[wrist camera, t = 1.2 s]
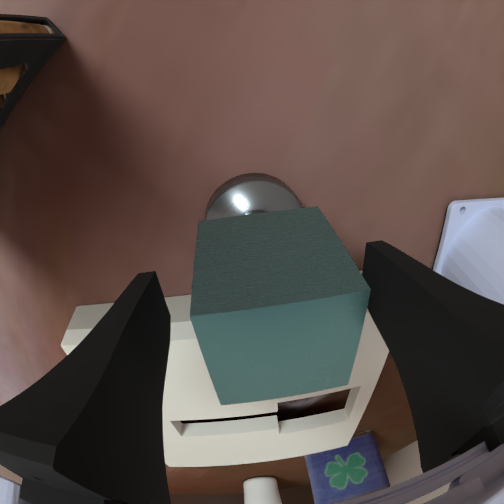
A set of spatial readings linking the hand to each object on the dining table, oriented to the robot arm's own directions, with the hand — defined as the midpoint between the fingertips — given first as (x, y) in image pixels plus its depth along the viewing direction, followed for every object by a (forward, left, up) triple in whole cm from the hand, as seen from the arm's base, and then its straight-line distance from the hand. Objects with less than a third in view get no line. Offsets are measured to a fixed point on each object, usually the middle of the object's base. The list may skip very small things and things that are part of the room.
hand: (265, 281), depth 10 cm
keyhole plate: (+2, +14, -5) cm, 15 cm away
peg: (0, 0, -5) cm, 5 cm away
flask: (-8, +32, -5) cm, 33 cm away
